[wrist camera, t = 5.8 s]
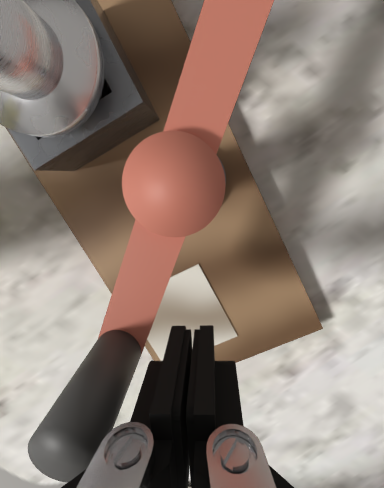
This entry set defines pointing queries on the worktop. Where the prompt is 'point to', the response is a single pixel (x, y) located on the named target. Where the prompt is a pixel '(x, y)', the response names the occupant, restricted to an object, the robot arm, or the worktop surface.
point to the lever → (156, 229)
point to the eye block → (96, 110)
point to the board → (202, 242)
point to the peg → (48, 67)
